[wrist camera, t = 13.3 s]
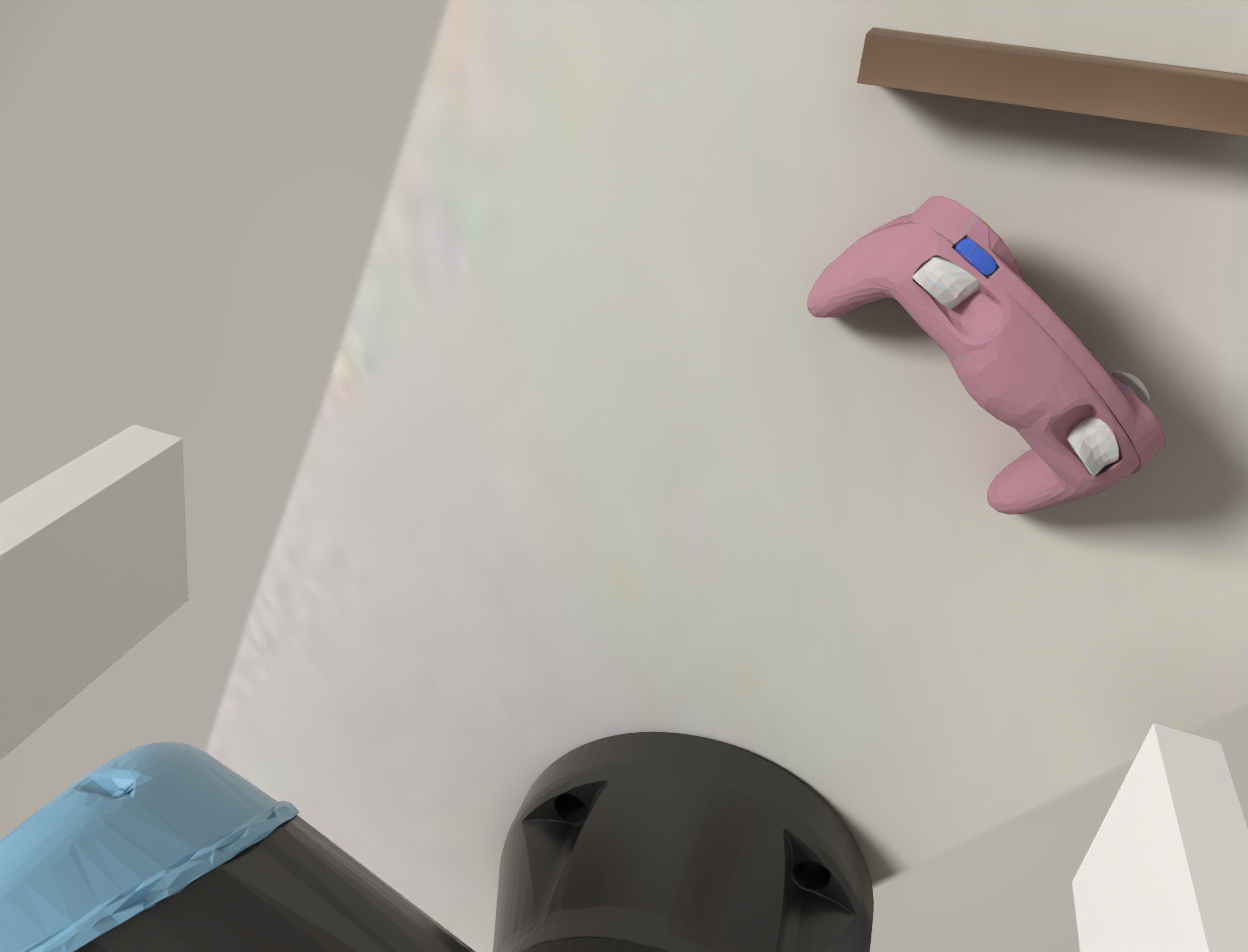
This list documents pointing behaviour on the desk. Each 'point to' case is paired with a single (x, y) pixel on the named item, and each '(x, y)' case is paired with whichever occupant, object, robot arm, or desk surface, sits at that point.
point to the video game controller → (1002, 352)
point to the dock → (1057, 80)
